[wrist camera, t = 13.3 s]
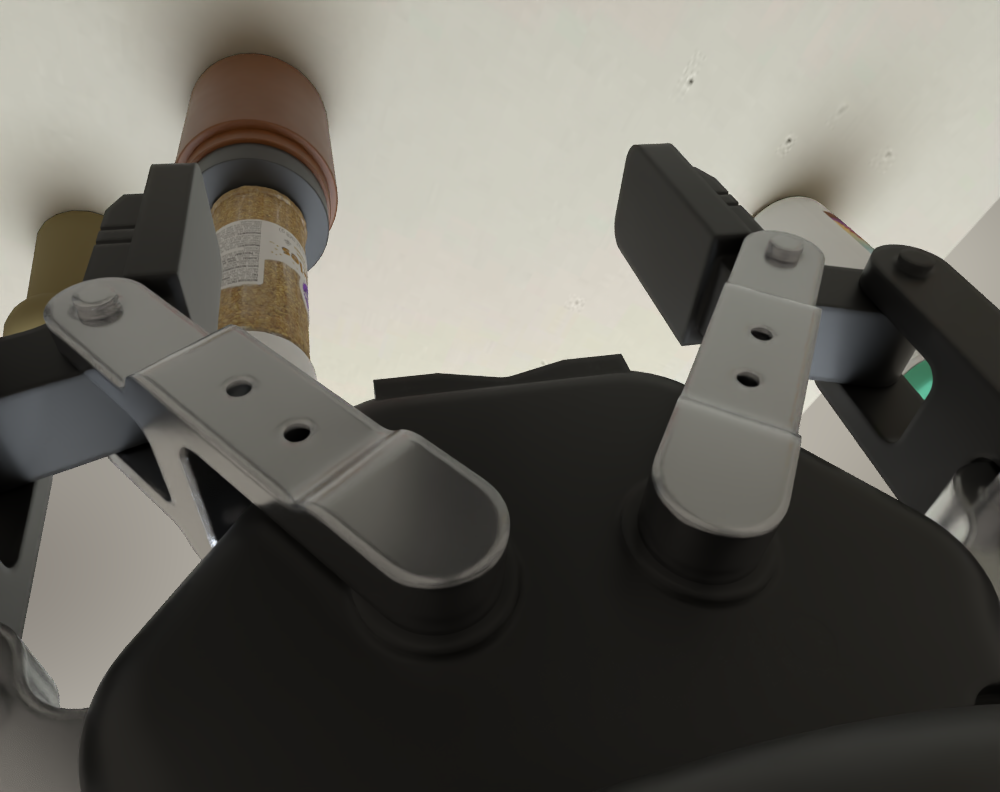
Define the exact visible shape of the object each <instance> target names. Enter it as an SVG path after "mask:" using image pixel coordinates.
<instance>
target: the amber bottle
mask: <svg viewBox="0 0 1000 792" xmlns="http://www.w3.org/2000/svg"><path fill="white" fill-rule="evenodd" d="M175 163H198V165H199V167H200V170H201V173H202V176H203V180H204V185H205V189H206V193H207V197H208V202H209V206H210V210H211V209H212V207H213V204H214V203H215V202H216V201H217V200H218V199H219V198H220V197H221V196H222V195H223V194H225V193H227V192H229V191H230V190H233V189H236V188H239V187H242V186H260V187H266V188H270V189H273V190H276V191H278V192H279V193H281V194H284V195H285V196H287V197H288V198H289V199H290V200H291V201H292V202H293V203H294V204H295V205H296V206H297V207H298V208H299V210H300V211H301V213H302V215H303V217H304V219H305V222H306V229H307V240H306V245H305V256H306V260H307V271H309V270H310V269H311V268H312V267H313V266H314V265H315V264H316V263H317V261H318V260H319V259H320V257H321V256H322V254H323V252H324V250H325V247H326V245H327V241H328V236H329V230H330V229H331V227H332V224H333V222H334V220H335V216H336V212H337V204H338V195H337V186H336V179H335V171H334V164H333V157H332V150H331V142H330V135H329V128H328V121H327V115H326V111H325V107H324V104H323V102H322V100H321V98H320V95H319V94H318V92H317V91H316V89H315V87H314V86H313V85H312V84H311V82H310V81H309V80H308V79H307V78H306V77H305V76H304V75H303V74H302V73H301V72H299V71H298V70H297V69H295V68H294V67H292V66H291V65H289V64H287V63H286V62H284V61H281V60H279V59H277V58H274V57H271V56H267V55H262V54H251V53H247V54H237V55H233V56H229V57H227V58H224V59H221V60H220V61H218V62H216V63H214V64H213V65H212V66H210V67H209V68H208V69H207V70H206V71H205V72H204V73H203V74H202V75H201V76H200V78H199V79H198V81H197V82H196V84H195V86H194V88H193V91H192V94H191V98H190V102H189V106H188V110H187V114H186V119H185V123H184V127H183V131H182V136H181V140H180V144H179V149H178V153H177V157H176V161H175Z"/></svg>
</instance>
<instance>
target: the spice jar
mask: <svg viewBox="0 0 1000 792" xmlns="http://www.w3.org/2000/svg"><path fill="white" fill-rule="evenodd" d="M211 214H212V218H213V223H214V227H215V231H216V235H217V240H218V244H219V249H220V256H221V264H222V282H221V294H220V306H219V318H218V330H219V329H221V328H223V327H225V326H226V325H229V324H233V325H237V326H239V327H240V328H242V329H244V330H245V331H247V332H248V333H249V334H251V335H252V336H254V337H255V338H256V339H258V340H259V341H261V342H262V343H264V344H265V345H266V346H268V347H269V348H271V349H272V350H274V351H275V352H276V353H278V354H279V355H281V356H282V357H284V358H285V359H286V360H288V361H289V362H291V363H292V364H294V365H295V366H296V367H298V368H299V369H301V370H302V371H303V372H305V373H306V374H308V375H309V376H311V377H312V378H313V379H315V380H316V381H317V379H316V373H315V369H314V367H313V365H312V363H311V361H310V355H309V353H310V351H309V331H308V329H309V328H308V327H309V306H308V276H307V260H306V256H305V245H306V240H307V229H306V222H305V219H304V217H303V215H302V213H301V211H300V210H299V208H298V207H297V206H296V205H295V204H294V203H293V202H292V201H291V200H290V199H289V198H288V197H287V196H285V195H284V194H281V193H279V192H278V191H276V190H273V189H270V188H266V187H260V186H242V187H239V188H236V189H233V190H230V191H229V192H227V193H225V194H223V195H222V196H221V197H220V198H219V199H218V200H217V201H216V202H215V203H214V204H213V207H212V209H211Z"/></svg>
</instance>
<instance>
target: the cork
mask: <svg viewBox="0 0 1000 792" xmlns="http://www.w3.org/2000/svg"><path fill="white" fill-rule="evenodd" d="M103 217H104V216H103V215H100V214H96V213H93V212H89V211H69V212H65V213H60V214H56V215H55V216H53V217H52V218H50V219H49V220H47V221H46V222H44V224H43V225H42V227H41V229H40V230H39V232H38V234H37V240H36V246H35V252H34V258H33V264H32V270H31V276H30V282H29V288H28V294H27V299H26V300H24V301H23V302H21V303H20V304H18V305H17V306H16V307H15V308H14V309H13V310H12V312H11V313H10V315H9V316H8V318H7V320H6V322H5V324H4V331H3V337H4V336H8V335H12V334H16V333H20V332H23V331H26V330H30V329H33V328H35V327H38V326H41V325H43V324H45V320H44V318H43V312H44V309H45V306H46V305H47V303H48V302H49V301H50V300H51V299H52V298H53V297H54V296H55V295H56V294H58V293H59V292H61V291H62V290H64V289H66V288H68V287H70V286H72V285H75V284H78V283H80V282H82V281H83V278H84V275H85V272H86V269H87V266H88V263H89V260H90V257H91V254H92V251H93V247H94V245H96V238H97V235H98V232H99V231H101V229H100V226H101V223H102V220H103Z"/></svg>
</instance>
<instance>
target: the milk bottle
mask: <svg viewBox="0 0 1000 792" xmlns="http://www.w3.org/2000/svg"><path fill="white" fill-rule="evenodd" d="M754 220H755V221H756V222H757V223H758V224H759V225H760V226H761V227H762V228H763V229H764V230H774V231H782V232H787V233H791V234H794V235H797V236H800V237H802V238H804V239H806V240H808V241H810V242H812V243H813V244H815V245H816V246H817V247H818V248H819V249H820V250H821V251H822V252H823V254H824V257H825V264H824V265H829V266H838V267H846V268H855V269H863V270H864V268H865V266H866V264H867V262H868V260H869V257H870V255H871V253H872V252H873V250H874V248H872V247H871V246H870V245H869V244H868V243H867V242H866V241H864V240H863V239H862V238H861V237H860V236H859V235H857V234H856V233H855V232H854V231H853V230H852V229H850V228H849V227H848V226H847V225H846V224H845V223H843V222H842V221H841V220H840V219H839V218H838V217H836V216H835V215H834V214H833V213H832V212H830V211H829V210H828V209H827V208H826V207H824V206H823V205H822V204H820V203H819V202H818V201H816V200H814V199H811V198H807V197H798V196H797V197H789V198H785V199H782V200H779V201H777V202H775V203H773V204H771V205H769V206H768V207H766V208H765V209H763V210H762V211H761V212H760V213H759V214H758V215H756V216H755V218H754ZM902 375H903V376H904V377H905V378H906V379H907V380H908V382H909V383H910V384H911V385H912V386H913V387H914V389H915V390H916V391H917V392H918V393H919V394H920V396H921V397H922V398H923V399H924V400H925V398H926V397H927V395H928V394H929V392H930V390H931V387H932V382H933V377H932V371H931V368H930V366H929V364H928V362H927V361H926V360H925V359H924V358H923V357H922V355H921V354H920V353H919V352H918V351H917V350H915V352H914V354H913V355H912V357H911V359H910V360H909V362H908V364H907V366H906V367H905V369H904V371H903V372H902Z"/></svg>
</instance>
